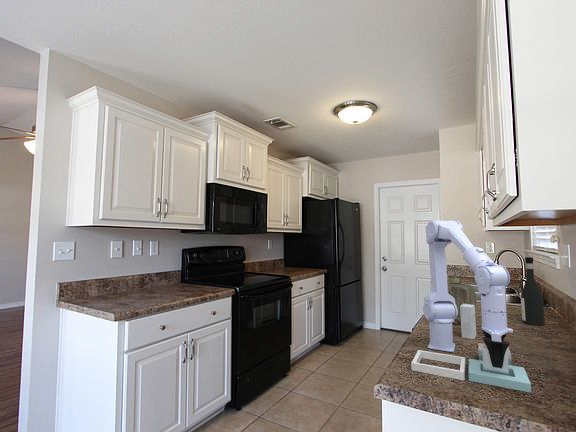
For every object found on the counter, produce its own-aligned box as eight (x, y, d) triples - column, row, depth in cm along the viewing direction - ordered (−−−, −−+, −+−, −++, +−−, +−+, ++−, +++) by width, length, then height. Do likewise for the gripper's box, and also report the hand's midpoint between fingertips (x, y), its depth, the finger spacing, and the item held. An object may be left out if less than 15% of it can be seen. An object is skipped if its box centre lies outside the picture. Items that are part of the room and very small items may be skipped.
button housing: (478, 356, 100) (478, 343, 101) (509, 360, 96) (508, 347, 97) (479, 364, 94) (478, 350, 94) (512, 369, 90) (511, 354, 90)
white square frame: (418, 356, 100) (418, 349, 100) (465, 364, 93) (465, 357, 93) (411, 370, 89) (411, 362, 89) (464, 380, 82) (464, 372, 82)
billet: (483, 373, 87) (482, 343, 88) (507, 377, 84) (505, 346, 85) (484, 378, 84) (482, 347, 84) (509, 382, 81) (507, 350, 82)
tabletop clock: (477, 324, 140) (474, 268, 143) (471, 328, 134) (469, 269, 136) (443, 319, 151) (441, 266, 153) (436, 322, 144) (434, 267, 146)
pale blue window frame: (469, 365, 92) (469, 358, 92) (524, 375, 86) (523, 367, 86) (468, 380, 82) (468, 372, 82) (531, 392, 75) (530, 384, 76)
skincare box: (464, 334, 125) (462, 303, 127) (476, 336, 123) (475, 304, 124) (461, 337, 121) (459, 305, 122) (473, 339, 118) (472, 307, 119)
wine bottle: (519, 323, 144) (515, 257, 147) (526, 321, 148) (522, 256, 151) (541, 327, 137) (536, 257, 140) (547, 324, 141) (543, 257, 144)
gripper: (514, 317, 77) (518, 375, 76) (508, 307, 90) (511, 357, 88) (480, 314, 81) (483, 369, 80) (480, 305, 93) (482, 352, 92)
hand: (496, 362), depth 84 cm, fingers open, 7 cm apart
